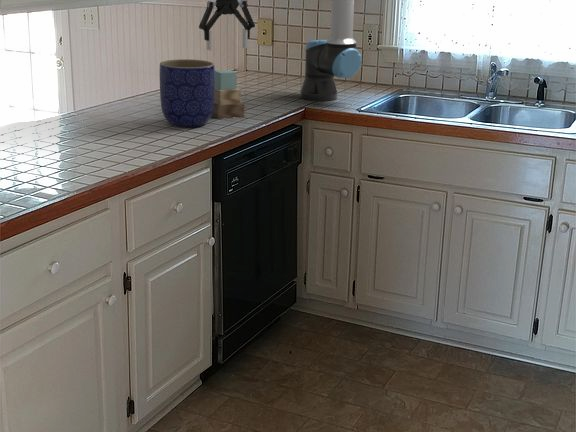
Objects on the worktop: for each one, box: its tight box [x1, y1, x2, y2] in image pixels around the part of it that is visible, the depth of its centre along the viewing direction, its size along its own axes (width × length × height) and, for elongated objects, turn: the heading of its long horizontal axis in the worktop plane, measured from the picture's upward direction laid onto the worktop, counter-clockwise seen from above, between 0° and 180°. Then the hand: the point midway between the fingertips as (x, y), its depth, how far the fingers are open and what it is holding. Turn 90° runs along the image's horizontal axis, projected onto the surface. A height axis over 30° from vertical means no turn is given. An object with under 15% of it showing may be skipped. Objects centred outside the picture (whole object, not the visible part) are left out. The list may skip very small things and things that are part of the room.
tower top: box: [214, 87, 242, 105], centre depth 291 cm, size 8×8×5 cm
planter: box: [159, 59, 216, 128], centre depth 275 cm, size 18×18×21 cm
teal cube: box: [215, 69, 238, 90], centre depth 289 cm, size 6×6×6 cm
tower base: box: [211, 102, 245, 120], centre depth 293 cm, size 10×10×5 cm
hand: (227, 49), depth 286 cm, fingers open, 13 cm apart
